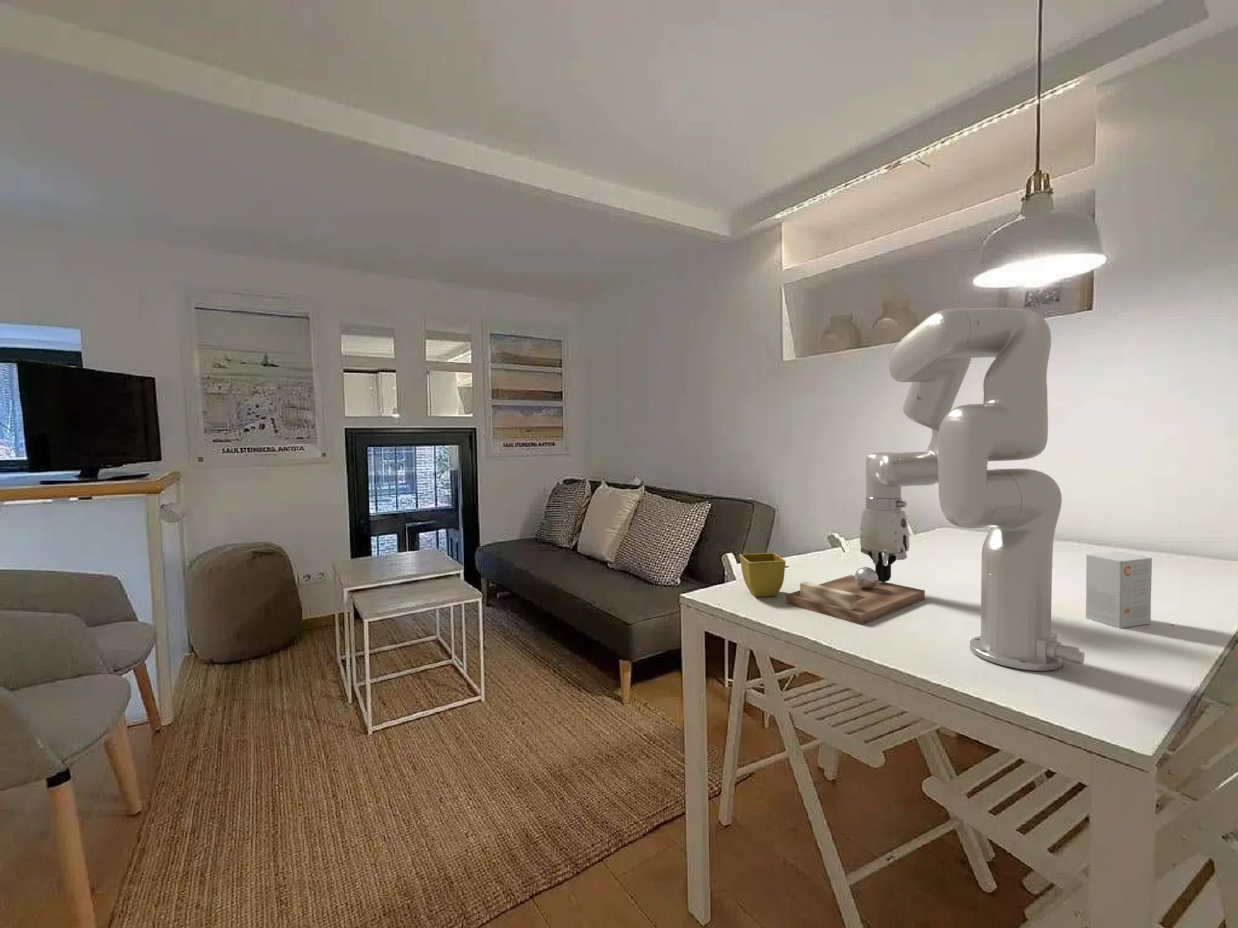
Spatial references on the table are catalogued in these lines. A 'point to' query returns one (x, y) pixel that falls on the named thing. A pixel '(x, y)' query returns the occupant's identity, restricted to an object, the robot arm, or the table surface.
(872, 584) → the steel ball
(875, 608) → the walnut board
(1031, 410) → the robot arm
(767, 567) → the flower pot
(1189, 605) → the table surface
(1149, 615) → the small box
